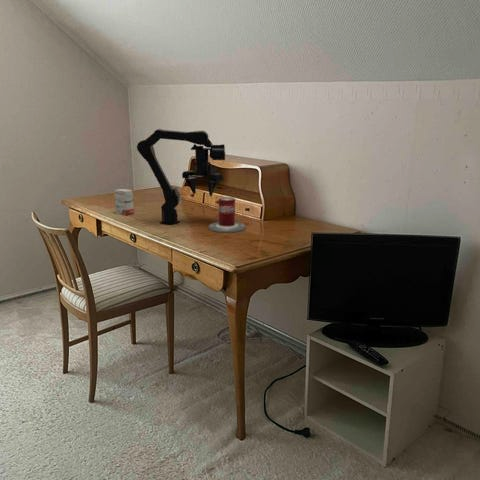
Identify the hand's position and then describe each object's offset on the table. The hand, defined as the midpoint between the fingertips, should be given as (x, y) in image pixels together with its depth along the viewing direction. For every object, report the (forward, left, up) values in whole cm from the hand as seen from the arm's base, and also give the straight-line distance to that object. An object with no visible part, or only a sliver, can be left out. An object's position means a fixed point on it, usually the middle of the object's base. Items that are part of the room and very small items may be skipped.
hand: (202, 195), depth 224 cm
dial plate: (+14, -1, -13) cm, 19 cm away
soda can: (+14, -1, -12) cm, 18 cm away
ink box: (-43, -6, -13) cm, 45 cm away
